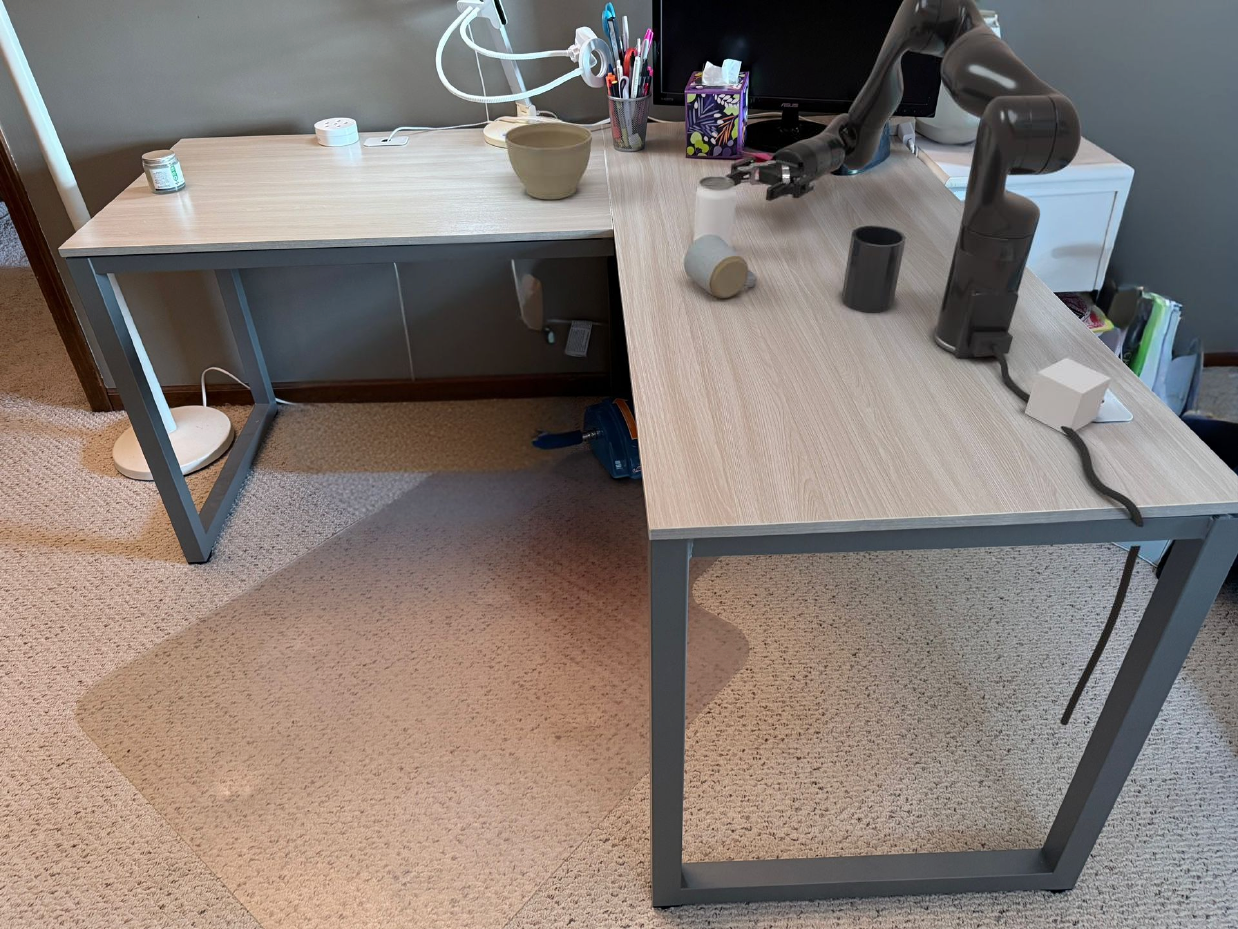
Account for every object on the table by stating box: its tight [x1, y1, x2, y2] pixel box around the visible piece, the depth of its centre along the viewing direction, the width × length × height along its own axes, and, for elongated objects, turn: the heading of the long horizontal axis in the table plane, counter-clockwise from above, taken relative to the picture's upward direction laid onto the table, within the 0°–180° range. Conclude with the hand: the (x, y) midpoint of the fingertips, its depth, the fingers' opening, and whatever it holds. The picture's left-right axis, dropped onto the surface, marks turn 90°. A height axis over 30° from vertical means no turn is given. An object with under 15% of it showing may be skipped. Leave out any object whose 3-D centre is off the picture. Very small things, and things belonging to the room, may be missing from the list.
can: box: [693, 175, 737, 249], centre depth 149 cm, size 6×6×12 cm
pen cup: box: [841, 225, 907, 314], centre depth 135 cm, size 8×8×10 cm
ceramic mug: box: [683, 235, 758, 299], centre depth 140 cm, size 11×8×8 cm
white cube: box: [1024, 357, 1112, 436], centre depth 112 cm, size 6×6×6 cm
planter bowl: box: [504, 121, 593, 200], centre depth 172 cm, size 16×16×11 cm
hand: (747, 188), depth 153 cm, fingers open, 8 cm apart
